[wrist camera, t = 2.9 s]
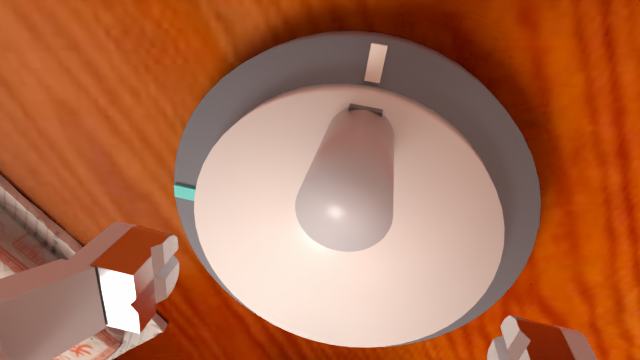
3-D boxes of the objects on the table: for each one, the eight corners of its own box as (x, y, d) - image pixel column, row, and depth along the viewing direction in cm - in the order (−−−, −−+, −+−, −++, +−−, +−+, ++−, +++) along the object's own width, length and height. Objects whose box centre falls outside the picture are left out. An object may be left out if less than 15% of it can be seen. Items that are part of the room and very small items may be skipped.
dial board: (183, -1, 19) (159, 1, 17) (602, 70, 17) (628, 82, 15) (195, 286, 28) (181, 309, 27) (459, 351, 27) (464, 379, 25)
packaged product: (-128, 256, 27) (-81, 192, 22) (-57, 218, 31) (-6, 158, 27) (71, 403, 32) (139, 372, 28) (109, 353, 36) (173, 320, 32)
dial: (443, 352, 24) (460, 490, 18) (207, 294, 26) (143, 403, 19) (553, 119, 16) (658, 215, 10) (203, 54, 18) (90, 100, 11)
